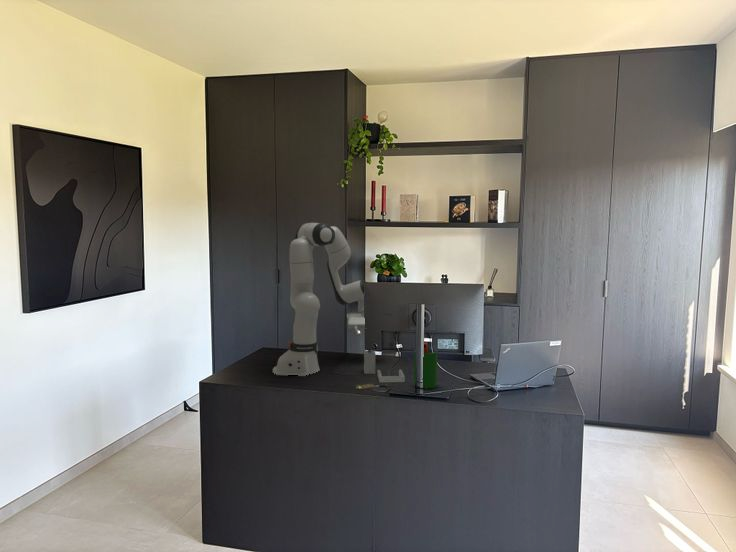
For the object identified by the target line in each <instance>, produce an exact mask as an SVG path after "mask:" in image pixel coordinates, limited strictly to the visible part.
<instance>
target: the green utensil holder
mask: <svg viewBox="0 0 736 552" xmlns="http://www.w3.org/2000/svg"><path fill="white" fill-rule="evenodd" d="M428 345H429V344H428V342H424V357H423V388H425V389H424V390H431V389H430V388H433V389H436V388H437V387H438V386H437V384H438V353H439V351H438V350H435V351H434V352H430V351H429V350H428V349H429V347H428ZM428 351H429V352H428ZM413 356H414V357H413V358H414V360H413V386H414V387H415V383H416V349H414V355H413ZM436 386H437V387H436ZM435 387H436V388H435ZM428 388H429V389H428Z"/></svg>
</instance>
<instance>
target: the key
mask: <svg viewBox="0 0 736 552" xmlns="http://www.w3.org/2000/svg"><path fill="white" fill-rule="evenodd" d="M374 387H375V385H374V384H373V383H367V384H359V385H358V384H357V385H356V386H355V389H356V390H363V389H369V388H374Z"/></svg>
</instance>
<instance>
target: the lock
mask: <svg viewBox="0 0 736 552" xmlns="http://www.w3.org/2000/svg"><path fill="white" fill-rule="evenodd" d="M371 350H372V349H371ZM371 350H368V349H366V350H363V373H364V375H376V351H375V350H374V351H371Z"/></svg>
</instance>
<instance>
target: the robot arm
mask: <svg viewBox="0 0 736 552" xmlns="http://www.w3.org/2000/svg"><path fill="white" fill-rule="evenodd" d="M289 245H290V246H289V255H288V256H289V258H288V259H289V271H290V273H289V274H290V289H289V290H290V291H289V292H290V293H289V294H290V295H289V296H290V297H289V303H290V305H291V307H292V308H293V309H294V312H295V316H294V323H293V325H292V338H293V339H292V340H289V341H288V350H287V351H286V352H284V353H283V354H281V355H280V356H279V358H278V359H277V364H276V365H275V366H274V367H272V374H273V373H274V374H273V375H275V374H276V375H275V376H288V375H298V376H297V377H307V376H309V374H310V375H313V373H314V374H317V373H319V372H320V370H321V369H320V366H319V359H318V351H319V349H318V348H319V347H318V341H317V323H318V318H319V317H318V316H319V310H320V309H321V301H320V299H319V298H318V297H317V295H315V293H314V291H313V289H314V279H315V267H314V258H313V257H314V256H313V250H314V248H315V247H324V248H325V250H326V252H327V255H328V260H327V263H326V267H327V268H326V269H327V271H328V275H329V277H330V283H331V285H332V288H333V292H334V293H333V294H334V297H335V301H336V302H337V303H338V304H339V305H341V306H347V305H350V304H351V303H355V302H357V303H358V305H357V311H350V312H348V313H347V314H346V319H347V328H348V329H349V330H350V329H353V330H354V331H355V333H356V336H360V335H361V331H360V330H359V329H362V330H363V329H366V328H365V318H364V284H365V283H368V282H367V281H366V280H365V279H364V280H363V279H361V280H360V279H359V280H357V281H353V282H351V283H348V284H342V281H341V278H340V275H339V270H340V269H341V268H342V267H343V266H344V265H346V264H347V263H348V261H349V260H350V258H351V255H352V250H351V247H350V245H349V242H348V240H347V239H346V237H345V236H344V234H343V232H342V231H341V230H340V229H339V228H338V227H337V226H334V225H332V226H330V225H328V224H327V223H324V222H323V223H321V222H320V223H319V222H304V223H302V224H300V225H299V226H298V227H297V229H296V231H295V236H294V239H293V240H292V241H291V242H290V244H289ZM318 371H319V372H318ZM316 372H317V373H316ZM306 375H307V376H306Z"/></svg>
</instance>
